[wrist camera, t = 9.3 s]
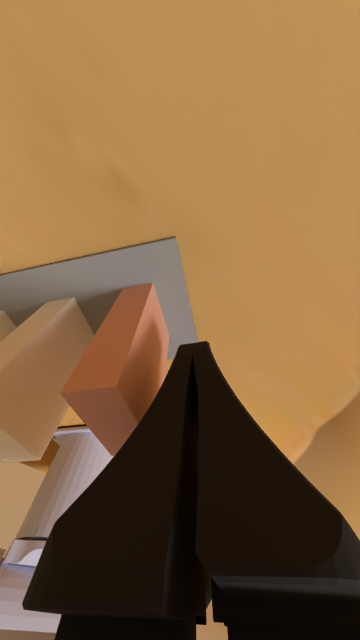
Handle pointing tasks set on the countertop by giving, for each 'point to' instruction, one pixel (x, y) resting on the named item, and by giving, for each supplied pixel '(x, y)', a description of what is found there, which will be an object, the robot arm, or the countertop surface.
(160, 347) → the domino
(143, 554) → the robot arm
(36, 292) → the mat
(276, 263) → the countertop surface
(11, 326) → the domino
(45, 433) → the domino
